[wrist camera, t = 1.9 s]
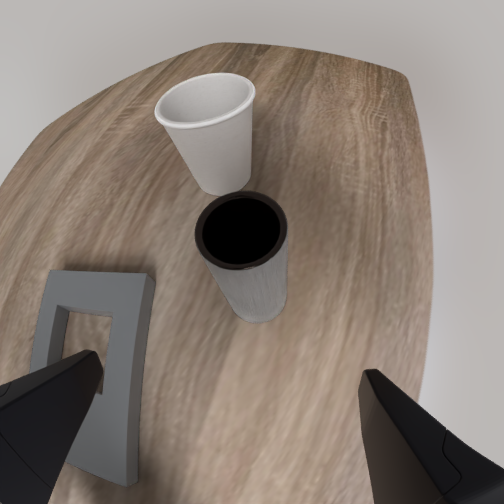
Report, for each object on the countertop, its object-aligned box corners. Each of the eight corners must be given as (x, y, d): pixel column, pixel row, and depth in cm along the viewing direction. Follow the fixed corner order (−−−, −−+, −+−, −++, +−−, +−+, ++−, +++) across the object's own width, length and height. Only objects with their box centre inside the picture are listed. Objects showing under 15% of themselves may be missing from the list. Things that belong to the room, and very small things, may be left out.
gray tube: (245, 333, 21) (215, 287, 12) (220, 285, 24) (181, 213, 14) (297, 306, 22) (306, 241, 13) (270, 261, 24) (260, 177, 15)
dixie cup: (193, 218, 27) (157, 139, 18) (180, 162, 31) (151, 90, 22) (276, 190, 27) (270, 104, 19) (249, 140, 31) (238, 64, 23)
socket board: (138, 481, 16) (126, 487, 14) (39, 439, 17) (26, 439, 16) (155, 282, 24) (146, 273, 22) (61, 277, 26) (49, 269, 24)
